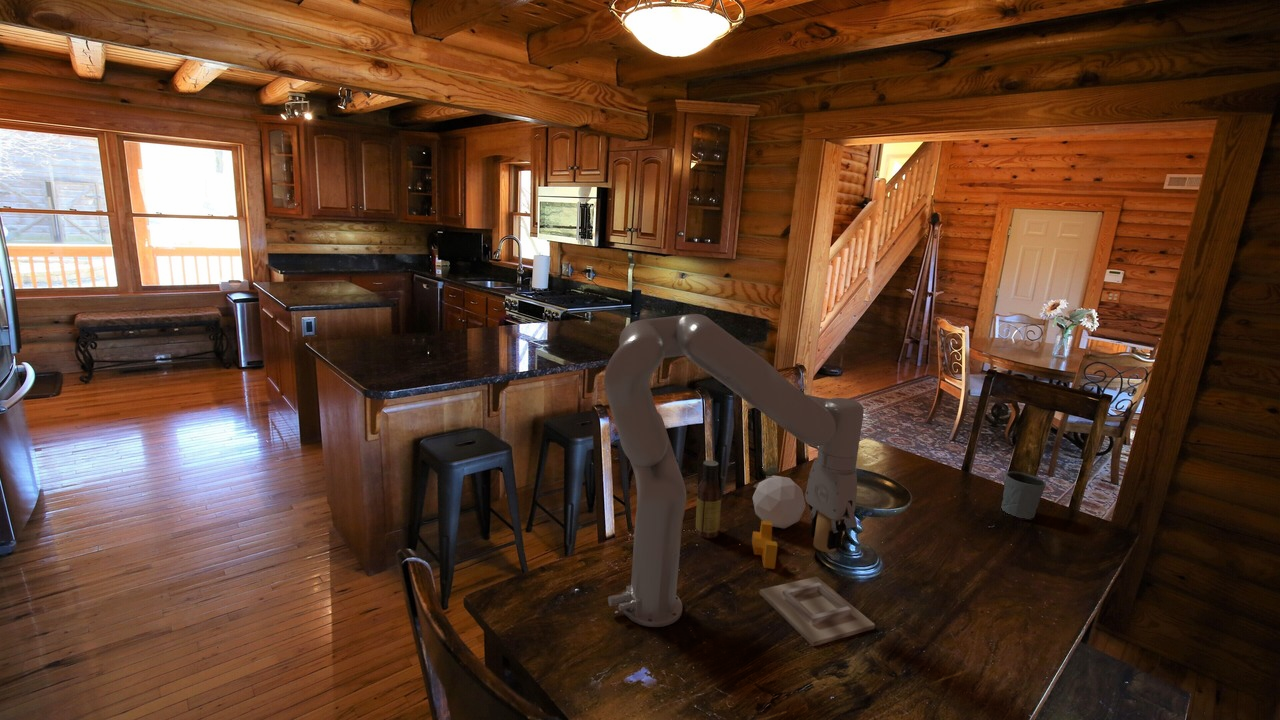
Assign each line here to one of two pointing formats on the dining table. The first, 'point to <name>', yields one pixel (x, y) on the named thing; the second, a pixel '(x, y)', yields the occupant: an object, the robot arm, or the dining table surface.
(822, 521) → the tan rounded oblong piece
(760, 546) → the orange blocky piece
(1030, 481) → the gray cup
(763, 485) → the geodesic sphere
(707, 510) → the sauce bottle
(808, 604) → the grey square framed plate
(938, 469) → the dining table surface
